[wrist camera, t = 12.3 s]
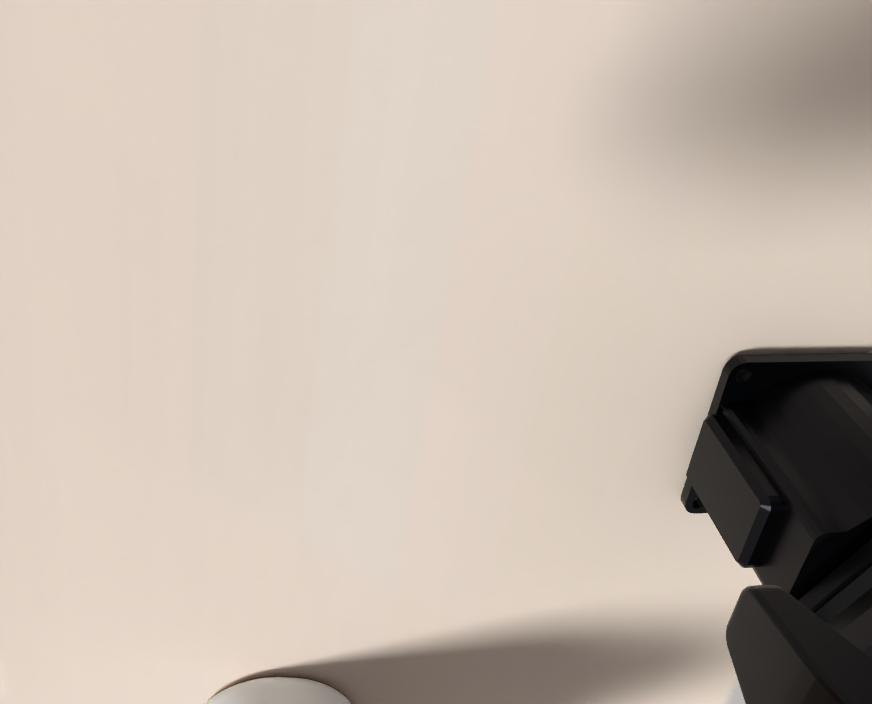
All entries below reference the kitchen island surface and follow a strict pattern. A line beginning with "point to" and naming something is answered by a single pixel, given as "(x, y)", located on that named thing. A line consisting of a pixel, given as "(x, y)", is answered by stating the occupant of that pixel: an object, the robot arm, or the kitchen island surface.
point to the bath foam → (279, 692)
